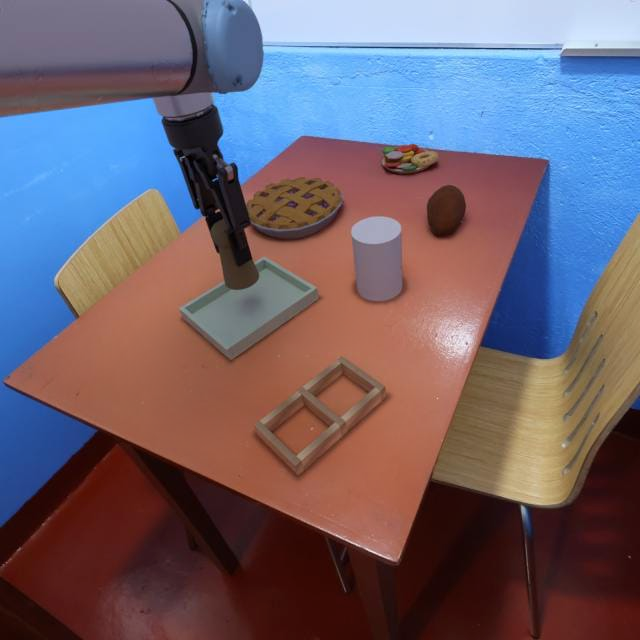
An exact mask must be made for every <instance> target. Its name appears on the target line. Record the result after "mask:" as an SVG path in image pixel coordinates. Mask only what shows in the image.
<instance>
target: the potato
mask: <svg viewBox="0 0 640 640" xmlns="http://www.w3.org/2000/svg"><path fill="white" fill-rule="evenodd" d="M466 210H467V203H466V197H465V195H464V194H463V192H462V191H461V189H460V188H458V187H457V186H455V185H452V184H447V185H443V186H440V187H439V188H438V189H437V190H435V191H434V192H433V194H432V195H431V196H430V197H429V198H428V201H427V203H426V218H427V223H428V225H429V227H430V229H431V230H432V231H433V233H434V234H435V235H437V236H446V235H448V234H450V233H451V232H453V231H454V230H455V229H456V228H457V227H458V225H459V224H460V223H461V221H463V217H464V216H465V214H466Z"/></svg>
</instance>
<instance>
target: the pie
mask: <svg viewBox="0 0 640 640" xmlns="http://www.w3.org/2000/svg"><path fill="white" fill-rule="evenodd" d="M343 198H344V194H343V193H342V192H341V190H340V188H339V187H337V186H335V185H334V183H333V182H331V181H329V180H326V181H323V180H322V179H321V178H319V177H314V178H311V179H310V178H306V177H305V176H301V177H297V178H295V179H290V178H284V179H281V181H280V182H278V183H274V182H273V183H269V184H267V185H266V186H265V188H264V189H263V190H258V191H256V192H255V193H254V194H253V198H251V199H248V200H247V201H246V207H247V210H248V214H249V217H250V221H251V225H253V226H254V227H255V228H256V229H257V230H258V231H259V232H260V233H263V234H265V235H266V236H268V237H270V238H271V237H272V238H278V239H283V240H290V239H302V238H305V237H309V236H311V235H313V234H316V233H317V232H319V231H321V230H322V229H324V228H326V227H328V226H329V224H330V223H331V222H332V221H333V220H334V219H335V217H336V216H337V213H338V211H339V209H340V208H341V206H342V204H343Z"/></svg>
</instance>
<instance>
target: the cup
mask: <svg viewBox="0 0 640 640" xmlns="http://www.w3.org/2000/svg"><path fill="white" fill-rule="evenodd" d="M350 235H351V245H352V254H353V263H354V264H353V265H354V272H355V282H356V290H357V293H358V295H359V296H360V297H361V298H363V299H365V300H367V301H370V302H385V301H390V300H392V299H394V298H396V297H397V296H399V295H400V294H401V293H402V291H403V245H402V243H403V242H402V241H403V239H402V225H401V224H400V222H399V221H398V220H396V219H394V218H392V217H389V216H378V215H377V216H376V215H375V216H369V217H366V218H363V219H361V220H359V221H357V222H356V223H355V224H354V225H353V226H352V227H351V230H350Z"/></svg>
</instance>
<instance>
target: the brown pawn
mask: <svg viewBox="0 0 640 640" xmlns="http://www.w3.org/2000/svg"><path fill="white" fill-rule="evenodd" d="M226 229H228V228H227V225H226V223H225V221H224V219H222V220H220V221H218V222H216V223H215V224H214V225H213V226H212V228H211V235H210V238H211V240H212V242H213V241H214V243H215V244H216V245H217V246H218V248H219V254H218V255H219V258H220V264H221V271H222V276H223V281H225V285H226V286H227V287H228V288H230V289H233V290H242V289H246V288H248V287H251V286H252V285H254V284H255V283H256V282H257V281H258V279H259V272H258V270H257V268H256V266H255V264H254V263H255V261H254V259H253V258H252V260H250V261H248V262H247V263H245V264H243V265H242V266H240V267H238V266H237V265H236V262H235V259H234V256H233V253H232V250H231V247H230V244H229V240H228V237H227V235H226V234H225V232H224V231H225V230H226ZM214 243H213V244H214Z"/></svg>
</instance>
